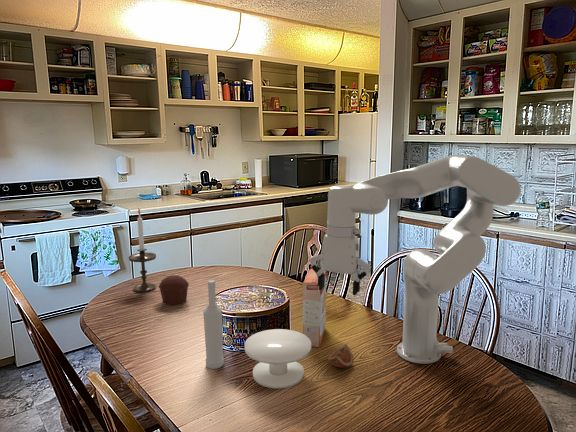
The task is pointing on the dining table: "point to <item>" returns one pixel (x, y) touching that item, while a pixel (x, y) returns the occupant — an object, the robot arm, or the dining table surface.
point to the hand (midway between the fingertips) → (338, 291)
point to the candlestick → (142, 260)
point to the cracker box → (314, 308)
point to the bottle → (213, 330)
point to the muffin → (174, 290)
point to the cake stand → (278, 357)
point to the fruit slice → (341, 357)
